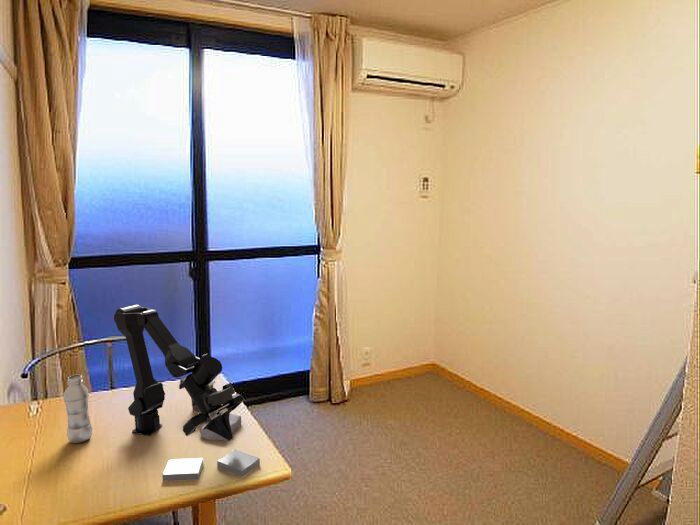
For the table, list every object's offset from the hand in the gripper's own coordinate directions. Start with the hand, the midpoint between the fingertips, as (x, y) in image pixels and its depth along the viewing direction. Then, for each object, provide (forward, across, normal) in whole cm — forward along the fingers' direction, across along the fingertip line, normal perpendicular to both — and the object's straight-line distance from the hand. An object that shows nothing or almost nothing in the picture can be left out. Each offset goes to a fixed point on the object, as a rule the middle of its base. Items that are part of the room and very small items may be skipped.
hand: (231, 439), depth 138 cm
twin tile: (0, -10, +11) cm, 15 cm away
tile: (+3, 0, +6) cm, 7 cm away
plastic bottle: (-28, -14, +38) cm, 50 cm away
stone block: (-6, +12, +17) cm, 21 cm away
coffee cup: (-17, +19, +27) cm, 37 cm away
